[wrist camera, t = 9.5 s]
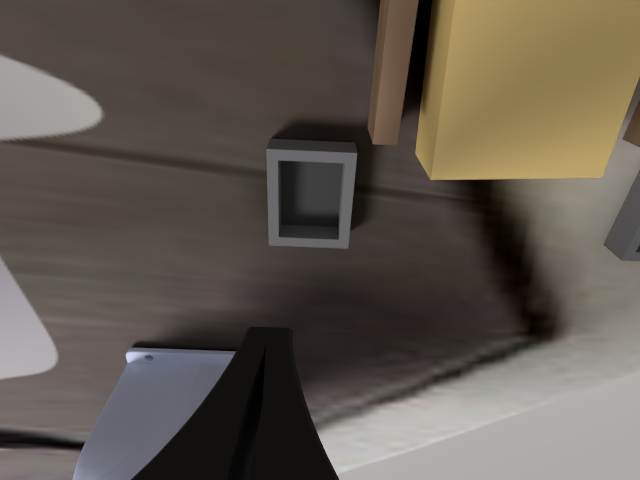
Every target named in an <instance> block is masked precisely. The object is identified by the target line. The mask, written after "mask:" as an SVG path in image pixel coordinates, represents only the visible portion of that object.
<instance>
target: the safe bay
mask: <svg viewBox="0 0 640 480" xmlns="http://www.w3.org/2000/svg"><path fill="white" fill-rule="evenodd" d="M418 1H419V0H381V2H380V11H379V21H378V30H377V39H376V49H375V58H374V68H373V77H372V87H371V96H370V106H369V115H368V125H367V128H368V131H369V134H370V137H371V140H372V143H373V144H380V145H397V143H398V136H399V129H400V123H401V116H402V109H403V102H404V96H405V89H406V82H407V75H408V68H409V62H410V55H411V48H412V41H413V35H414V28H415V21H416V14H417V8H418ZM623 140H625V141H628V142H630V143H632V144H634V145H636V146H638V147H640V101H639V104H638V106H637V108H636V110H635V113H634V115H633V117H632V119H631V122H630V124H629V126H628V128H627V131H626V133H625V135H624V137H623Z"/></svg>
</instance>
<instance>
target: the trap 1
mask: <svg viewBox="0 0 640 480" xmlns="http://www.w3.org/2000/svg"><path fill="white" fill-rule="evenodd" d="M266 150H267V189H268V229H269V245H273V246H297V247H320V248H344V249H348V245H349V234H350V224H351V213H352V203H353V193H354V182H355V172H356V161H357V149H356V145H355V143H354V142H333V141H311V140H289V139H270V141H269V144H268V146H267V149H266Z"/></svg>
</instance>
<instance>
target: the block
mask: <svg viewBox="0 0 640 480" xmlns="http://www.w3.org/2000/svg"><path fill="white" fill-rule="evenodd" d="M639 78H640V0H432V8H431V17H430V26H429V35H428V44H427V53H426V62H425V71H424V80H423V89H422V98H421V107H420V116H419V126H418V135H417V144H416V153H415V154H416V156H417V157H418V159H419V161H420V162H421V164H422V166H423V168H424V169H425V171H426V173H427V174H428V176H429V178H430V180H462V179H539V178H602V177H603V174H604V171H605V169H606V166H607V163H608V161H609V158H610V155H611V153H612V150H613V147H614V145H615V142H616V139H617V137H618V134H619V131H620V129H621V126H622V123H623V120H624V118H625V115H626V112H627V110H628V107H629V104H630V102H631V99H632V96H633V94H634V91H635V88H636V86H637V83H638V80H639Z"/></svg>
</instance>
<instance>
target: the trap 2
mask: <svg viewBox="0 0 640 480" xmlns="http://www.w3.org/2000/svg"><path fill="white" fill-rule="evenodd" d="M604 245H605V246H606V247H607V248H608V249H609V250H610V251H612V252H613V253H614V254H615V255H616V256H617V257H618V258H620V259H621V260H630V261H640V171H639V173H638V175H637V177H636V179H635V181H634V184H633V186H632V188H631V190H630V192H629V194H628V196H627V198H626V200H625V202H624V204H623V206H622V208H621V210H620V212H619V214H618V217H617V219H616V221H615V223H614V225H613V227H612V229H611V231H610V233H609V235H608V237H607V239H606V241H605V243H604Z"/></svg>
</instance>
